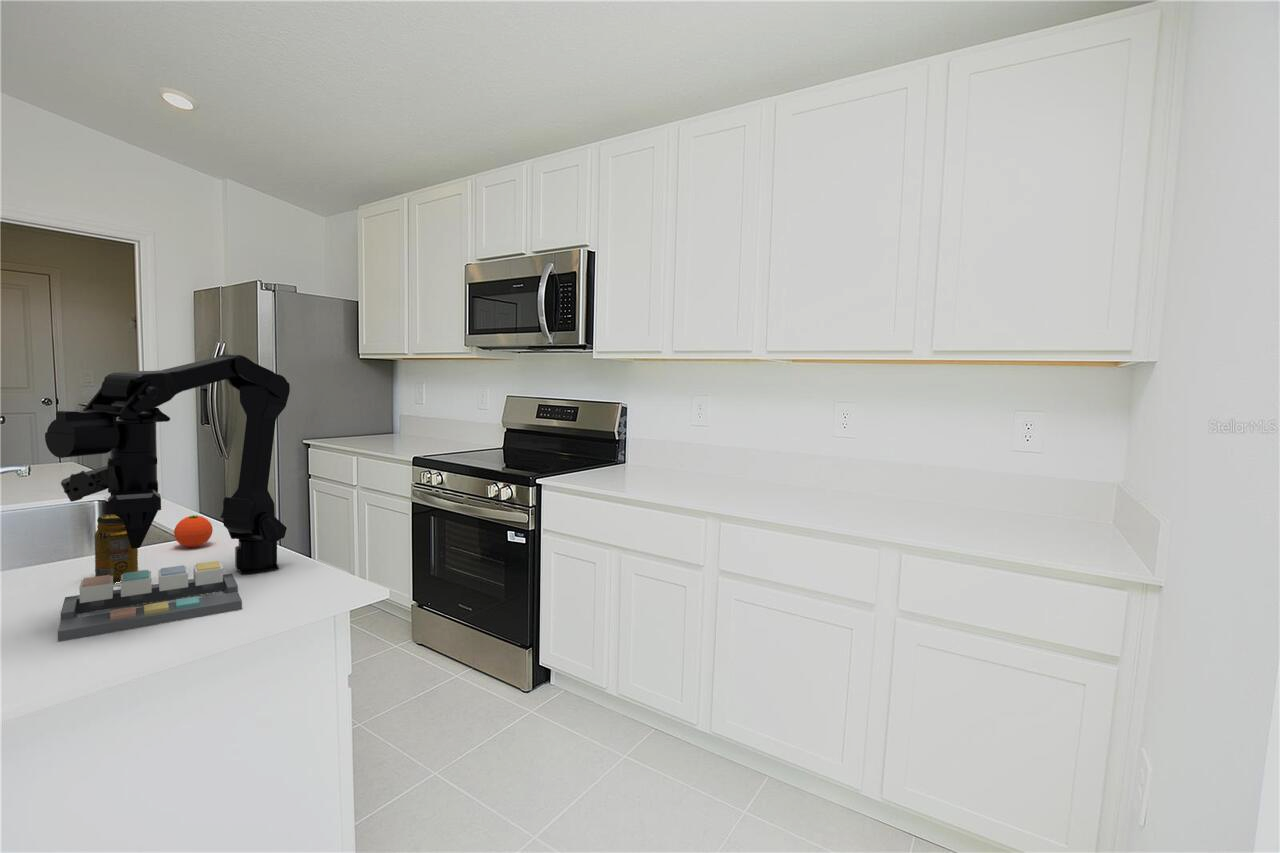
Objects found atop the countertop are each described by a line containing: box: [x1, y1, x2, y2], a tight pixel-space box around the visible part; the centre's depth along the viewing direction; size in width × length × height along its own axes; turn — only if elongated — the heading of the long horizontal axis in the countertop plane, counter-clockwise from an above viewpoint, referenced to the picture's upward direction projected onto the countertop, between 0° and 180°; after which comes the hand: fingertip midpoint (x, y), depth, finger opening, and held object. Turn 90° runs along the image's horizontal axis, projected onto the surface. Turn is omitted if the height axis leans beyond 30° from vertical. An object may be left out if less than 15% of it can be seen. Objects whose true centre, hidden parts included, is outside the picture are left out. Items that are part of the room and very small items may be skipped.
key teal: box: [120, 569, 153, 601], centre depth 98 cm, size 4×4×4 cm
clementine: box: [173, 514, 214, 548], centre depth 133 cm, size 8×7×7 cm
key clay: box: [78, 575, 114, 607], centre depth 95 cm, size 4×4×4 cm
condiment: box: [93, 513, 144, 587], centre depth 111 cm, size 7×8×12 cm
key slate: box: [157, 564, 189, 595], centre depth 101 cm, size 4×4×4 cm
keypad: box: [57, 572, 243, 642], centre depth 99 cm, size 22×13×2 cm, turn 130°
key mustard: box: [193, 560, 224, 590], centre depth 104 cm, size 4×4×4 cm
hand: (135, 545), depth 98 cm, fingers open, 3 cm apart
